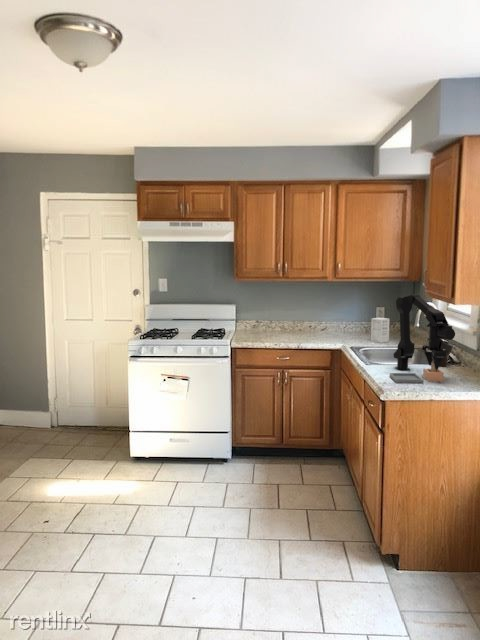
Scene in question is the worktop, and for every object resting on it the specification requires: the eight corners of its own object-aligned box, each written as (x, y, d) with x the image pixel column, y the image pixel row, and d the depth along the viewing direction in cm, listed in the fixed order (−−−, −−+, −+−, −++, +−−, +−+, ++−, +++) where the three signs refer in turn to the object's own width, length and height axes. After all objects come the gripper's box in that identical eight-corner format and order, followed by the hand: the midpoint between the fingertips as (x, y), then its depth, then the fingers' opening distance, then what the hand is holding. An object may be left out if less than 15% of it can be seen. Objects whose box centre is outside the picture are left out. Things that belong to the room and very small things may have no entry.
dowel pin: (429, 378, 249) (430, 361, 248) (434, 378, 249) (435, 361, 248) (431, 380, 247) (432, 362, 246) (436, 380, 247) (437, 362, 246)
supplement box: (389, 341, 354) (390, 318, 352) (381, 343, 348) (382, 319, 346) (378, 339, 362) (378, 317, 359) (370, 341, 356) (371, 318, 354)
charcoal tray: (389, 376, 253) (389, 372, 253) (415, 377, 253) (415, 373, 252) (396, 383, 240) (396, 379, 240) (423, 383, 240) (423, 379, 240)
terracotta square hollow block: (423, 377, 252) (423, 368, 251) (437, 377, 251) (438, 369, 251) (427, 381, 244) (428, 372, 244) (443, 381, 244) (443, 372, 244)
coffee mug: (443, 368, 272) (444, 350, 271) (429, 365, 279) (430, 348, 278) (454, 365, 279) (455, 348, 278) (441, 362, 286) (441, 345, 284)
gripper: (459, 340, 236) (457, 372, 238) (444, 333, 254) (443, 363, 256) (435, 340, 236) (433, 371, 238) (422, 333, 254) (421, 363, 257)
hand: (433, 367), depth 247 cm, fingers open, 9 cm apart
